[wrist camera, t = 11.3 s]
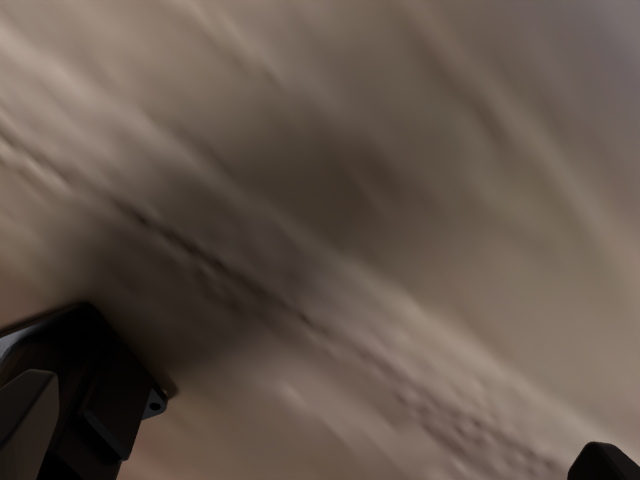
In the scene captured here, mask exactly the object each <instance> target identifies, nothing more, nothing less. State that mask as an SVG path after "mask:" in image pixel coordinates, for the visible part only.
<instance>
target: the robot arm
mask: <svg viewBox="0 0 640 480" xmlns="http://www.w3.org/2000/svg"><path fill="white" fill-rule="evenodd" d="M80 313H83V314H85V315H87V316H88V317H84V316H82V315H81V314H80ZM154 402H155V403H154ZM156 403H158V404H156ZM167 404H168V398H167V396H166V395H165V394H164V393H163V391H162V390H161V389H160V388H159V386H158V385H157V384H156V383H155V381H154V379H153V378H152V377H151V375H150V374H149V373H148V372H147V370H146V369H145V368H144V367H143V365H142V364H141V363H140V362H139V360H138V359H137V358H136V356H135V355H134V354H133V353H132V351H131V350H130V349H129V348H128V346H127V345H126V344H125V343H124V342H123V341H122V340H121V339H120V338H119V336H118V335H117V334H116V333H115V331H114V330H113V329H112V328H111V326H110V325H109V324H108V323H107V321H106V320H105V319H104V318H103V316H102V315H101V314H100V313H99V311H98V310H97V309H96V308H95V307H94V306H93V305H91V304H89V303H85V302H81V303H77V304H74V305H72V306H69V307H67V308H64V309H62V310H59V311H57V312H54V313H52V314H49V315H47V316H44V317H41V318H39V319H36V320H34V321H31V322H29V323H26V324H24V325H21V326H19V327H16V328H14V329H11V330H9V331H6V332H3V333H1V334H0V480H116V478H117V475H118V472H119V469H120V466H121V463H122V462H123V461H126V460H128V459H129V457H130V454H131V451H132V448H133V445H134V442H135V439H136V435H137V432H138V429H139V426H140V423H141V420H144V419H147V418H150V417H153V416H156V415H159V414H161V413H163V412H164V411H165V410H166V408H167ZM567 480H640V467H639V466H638V465H637V464H636V463H635V462H634V461H633V460H631V459H630V458H629V457H628V456H627V455H626V454H624V453H623V452H622V451H621V450H620V449H619V448H617V447H616V446H615V445H612V444H609V443H602V442H594V441H593V442H589V443H587V444H586V445H585V446H584V448H583V449H582V451H581V452H580V454H579V455H578V457H577V458H576V460H575V461H574V463H573V464H572V466H571V467H570V469H569V472H568V477H567Z"/></svg>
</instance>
